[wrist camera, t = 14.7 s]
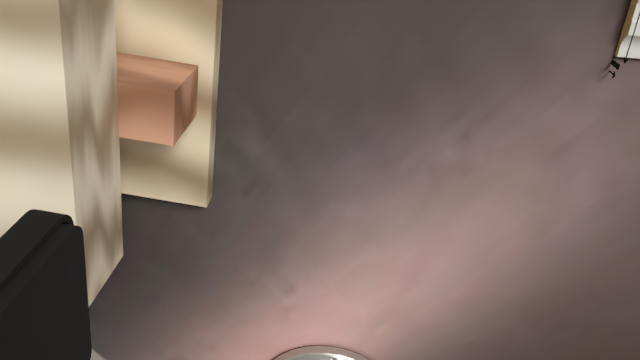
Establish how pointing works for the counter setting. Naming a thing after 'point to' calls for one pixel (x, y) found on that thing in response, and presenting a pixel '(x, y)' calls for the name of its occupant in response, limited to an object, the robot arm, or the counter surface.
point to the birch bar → (62, 122)
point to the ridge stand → (168, 97)
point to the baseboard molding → (629, 36)
